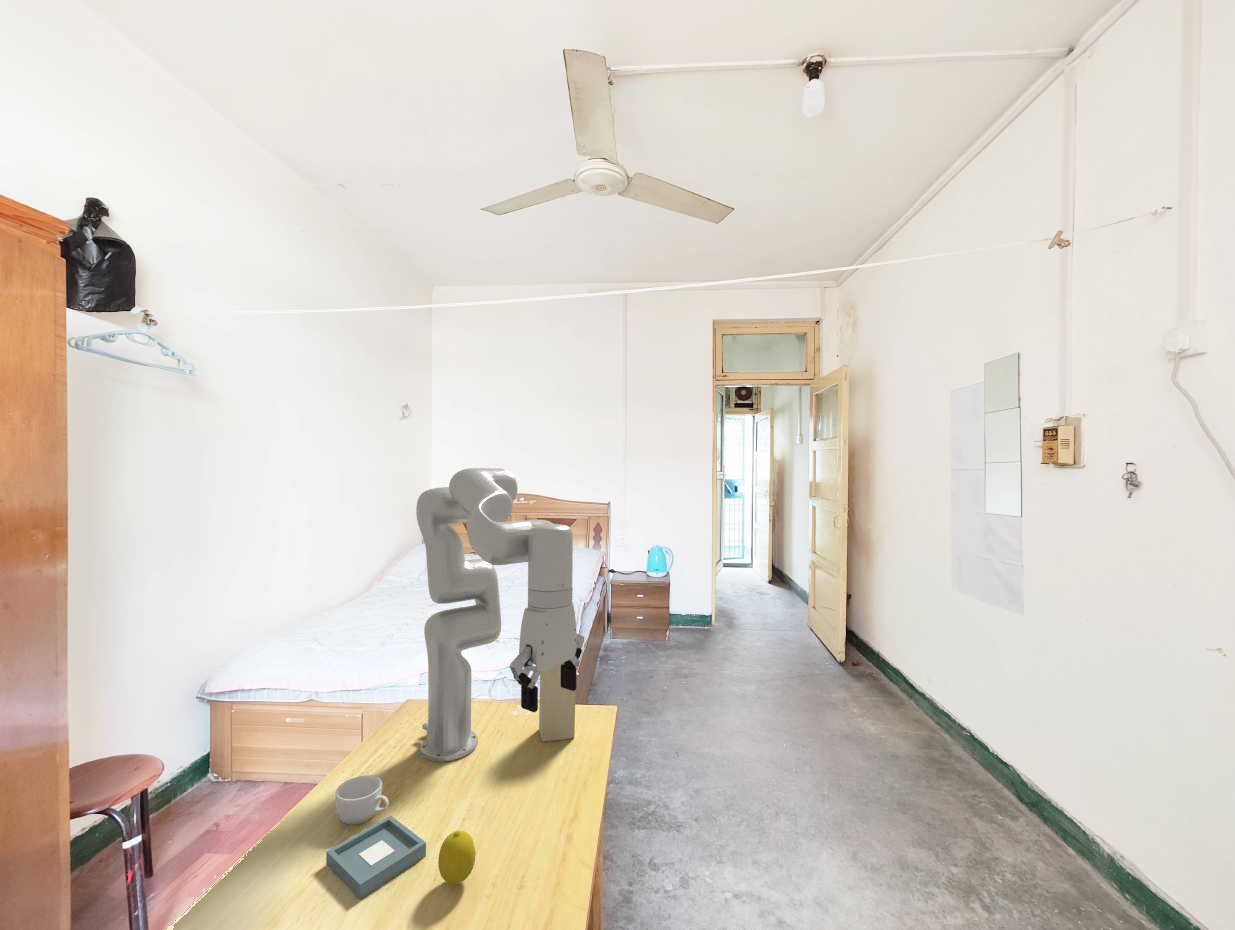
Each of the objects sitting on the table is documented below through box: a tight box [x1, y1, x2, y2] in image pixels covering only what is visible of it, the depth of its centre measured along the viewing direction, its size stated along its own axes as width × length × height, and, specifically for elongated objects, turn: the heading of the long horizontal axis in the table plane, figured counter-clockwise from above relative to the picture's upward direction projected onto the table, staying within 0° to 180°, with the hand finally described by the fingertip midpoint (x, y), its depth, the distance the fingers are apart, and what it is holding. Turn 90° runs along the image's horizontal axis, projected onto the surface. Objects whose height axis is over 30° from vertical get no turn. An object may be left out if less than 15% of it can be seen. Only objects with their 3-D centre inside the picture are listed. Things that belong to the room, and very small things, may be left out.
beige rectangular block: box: [538, 663, 576, 742], centre depth 127 cm, size 8×7×21 cm
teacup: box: [335, 774, 390, 826], centre depth 96 cm, size 10×8×5 cm
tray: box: [325, 815, 427, 900], centre depth 85 cm, size 11×11×2 cm
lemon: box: [437, 830, 476, 885], centre depth 81 cm, size 6×6×8 cm
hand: (549, 698), depth 88 cm, fingers open, 9 cm apart
